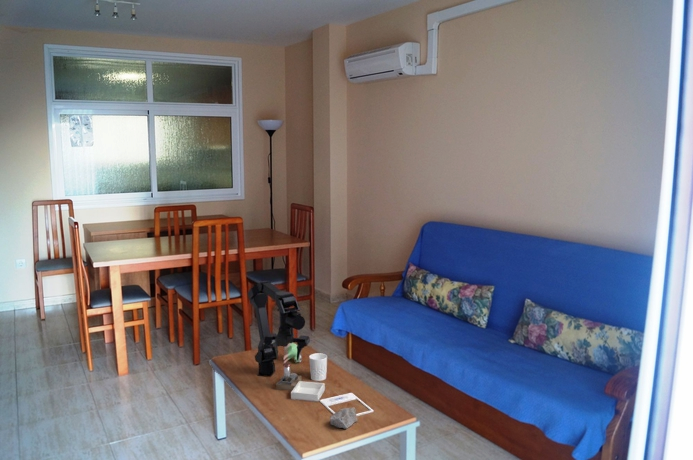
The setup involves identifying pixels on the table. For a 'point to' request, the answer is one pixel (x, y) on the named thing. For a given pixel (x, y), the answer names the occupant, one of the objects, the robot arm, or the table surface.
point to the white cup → (318, 366)
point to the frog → (291, 352)
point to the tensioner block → (288, 385)
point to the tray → (308, 391)
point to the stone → (344, 418)
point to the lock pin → (287, 371)
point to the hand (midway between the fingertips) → (287, 359)
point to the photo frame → (342, 399)
